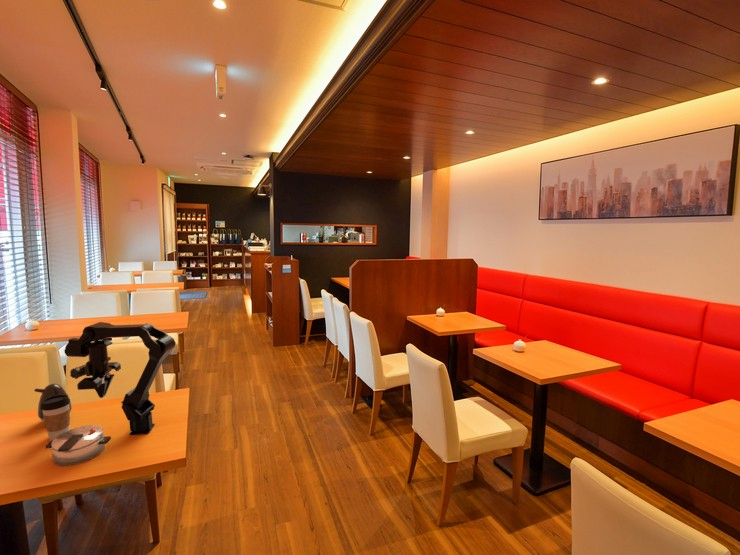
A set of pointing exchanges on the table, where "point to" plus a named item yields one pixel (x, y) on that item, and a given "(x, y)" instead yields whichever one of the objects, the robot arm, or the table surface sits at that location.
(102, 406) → the table surface
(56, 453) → the pot
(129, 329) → the robot arm
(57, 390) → the pump dispenser
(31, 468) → the table surface
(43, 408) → the coffee cup
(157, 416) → the table surface
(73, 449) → the lid
